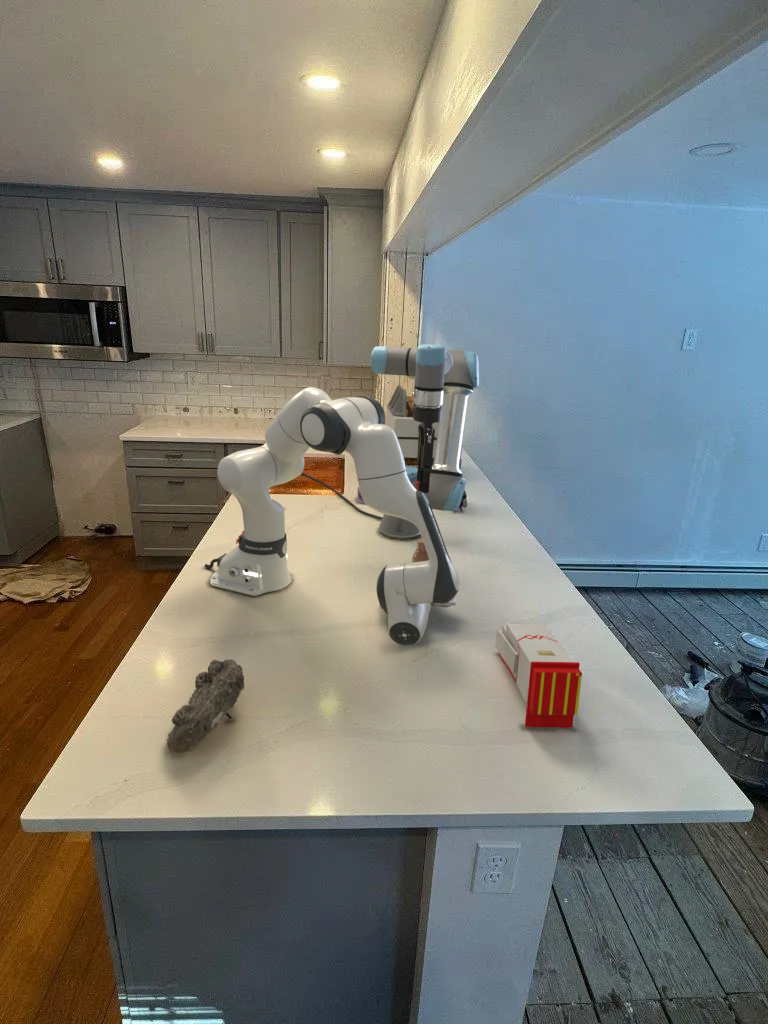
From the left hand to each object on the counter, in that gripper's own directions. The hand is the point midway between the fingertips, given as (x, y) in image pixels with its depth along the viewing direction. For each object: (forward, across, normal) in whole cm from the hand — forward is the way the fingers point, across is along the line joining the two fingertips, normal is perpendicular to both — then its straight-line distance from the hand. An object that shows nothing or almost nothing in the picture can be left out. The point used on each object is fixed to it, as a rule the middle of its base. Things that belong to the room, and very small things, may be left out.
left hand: (420, 577), depth 154 cm
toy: (-32, -28, +6) cm, 43 cm away
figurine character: (+80, -6, +7) cm, 81 cm away
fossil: (-57, +33, +6) cm, 66 cm away
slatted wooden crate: (+126, +15, +7) cm, 127 cm away
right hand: (+12, +2, -21) cm, 24 cm away
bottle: (-1, 0, +6) cm, 7 cm away
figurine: (+78, +31, +6) cm, 84 cm away
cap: (+12, +2, -23) cm, 26 cm away
